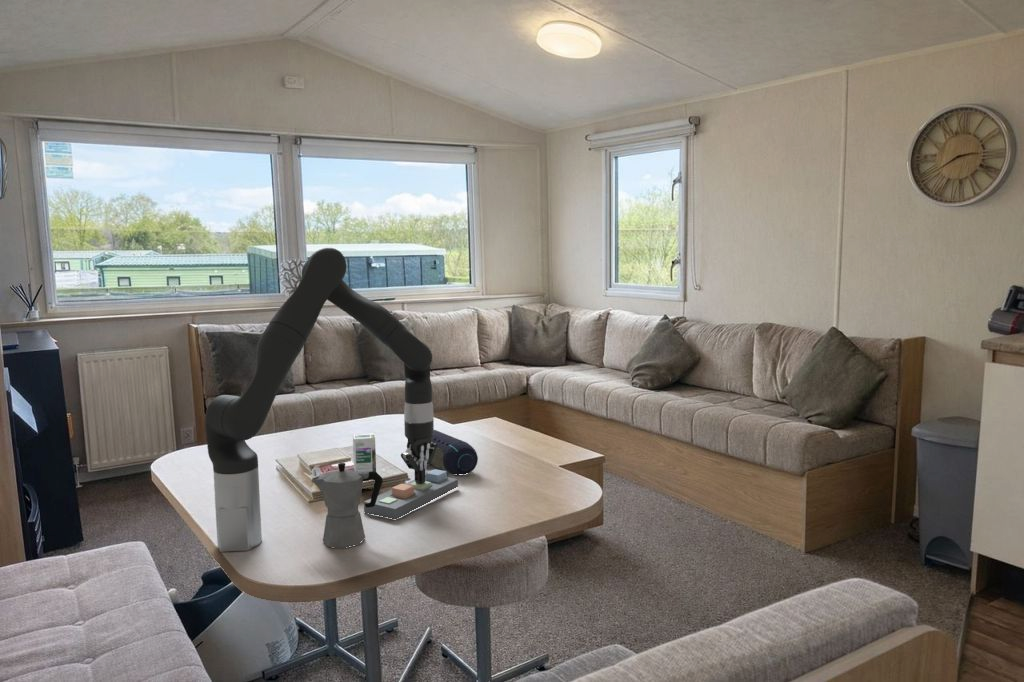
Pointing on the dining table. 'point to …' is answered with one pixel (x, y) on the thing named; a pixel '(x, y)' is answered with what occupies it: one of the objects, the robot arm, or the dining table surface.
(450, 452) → the portable speaker
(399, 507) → the button panel
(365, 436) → the syrup box
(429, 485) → the sage button
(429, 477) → the slate button
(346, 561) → the dining table surface
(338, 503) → the coffeepot
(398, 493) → the terracotta button
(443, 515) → the dining table surface
